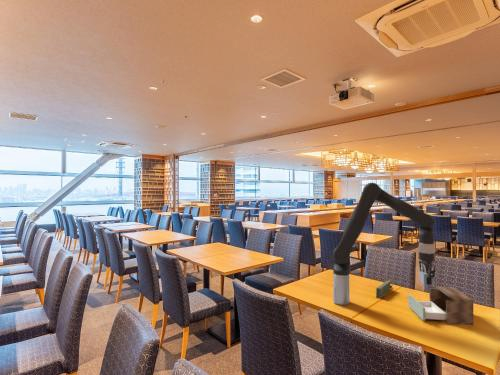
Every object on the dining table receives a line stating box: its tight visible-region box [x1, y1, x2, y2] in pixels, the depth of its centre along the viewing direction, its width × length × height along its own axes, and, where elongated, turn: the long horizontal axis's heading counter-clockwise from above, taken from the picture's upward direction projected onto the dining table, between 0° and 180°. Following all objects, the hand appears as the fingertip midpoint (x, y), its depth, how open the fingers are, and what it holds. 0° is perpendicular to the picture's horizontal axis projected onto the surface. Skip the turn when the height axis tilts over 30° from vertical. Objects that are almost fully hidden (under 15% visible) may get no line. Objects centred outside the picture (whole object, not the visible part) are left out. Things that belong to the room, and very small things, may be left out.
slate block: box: [419, 270, 435, 287], centre depth 156 cm, size 5×5×6 cm
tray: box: [407, 293, 446, 321], centre depth 156 cm, size 12×19×6 cm, turn 171°
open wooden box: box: [429, 286, 475, 326], centre depth 154 cm, size 12×19×13 cm, turn 171°
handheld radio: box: [375, 279, 393, 299], centre depth 189 cm, size 7×3×25 cm
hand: (426, 282), depth 156 cm, fingers closed on slate block, 5 cm apart
